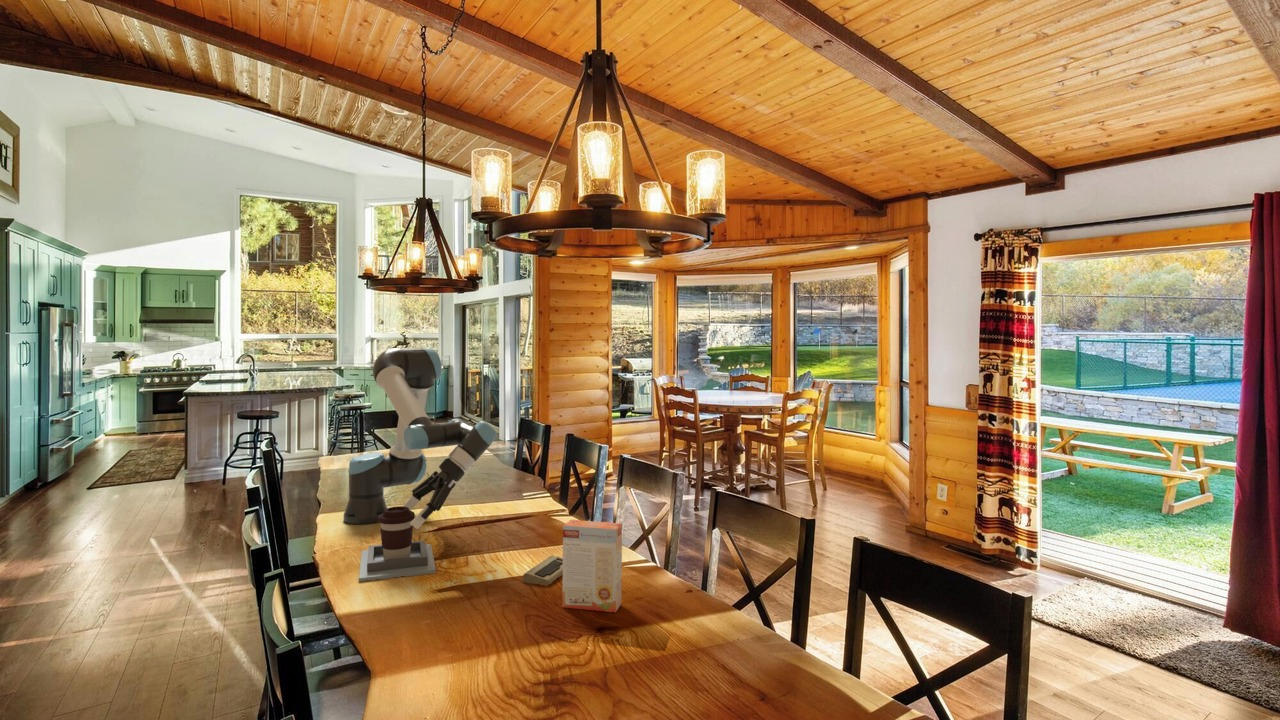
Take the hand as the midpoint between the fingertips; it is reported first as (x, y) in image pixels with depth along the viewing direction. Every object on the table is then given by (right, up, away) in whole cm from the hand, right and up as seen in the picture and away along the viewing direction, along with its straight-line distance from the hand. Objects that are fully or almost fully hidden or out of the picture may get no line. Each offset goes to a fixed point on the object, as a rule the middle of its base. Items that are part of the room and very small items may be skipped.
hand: (406, 520), depth 187 cm
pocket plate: (-2, -12, -1) cm, 12 cm away
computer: (+43, -14, -7) cm, 46 cm away
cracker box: (+57, -14, -28) cm, 65 cm away
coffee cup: (-3, -11, 0) cm, 12 cm away
